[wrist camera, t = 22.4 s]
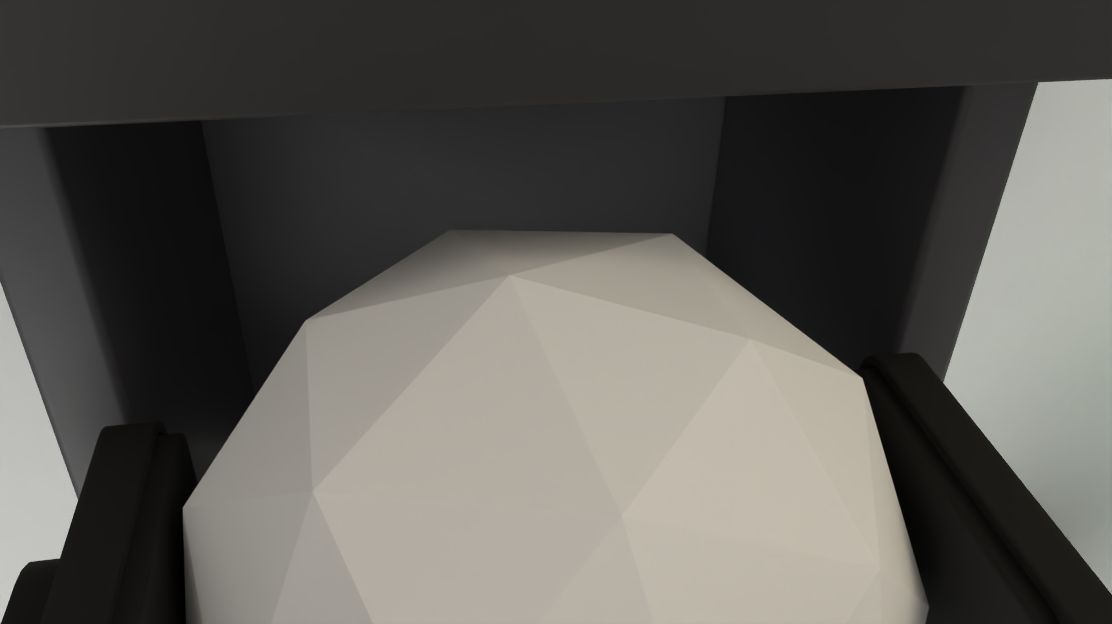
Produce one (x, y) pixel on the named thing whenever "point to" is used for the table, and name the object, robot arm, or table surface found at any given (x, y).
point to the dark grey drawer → (475, 226)
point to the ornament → (552, 454)
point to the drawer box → (510, 53)
